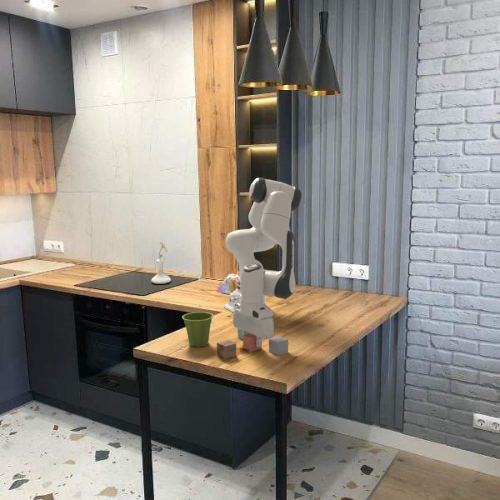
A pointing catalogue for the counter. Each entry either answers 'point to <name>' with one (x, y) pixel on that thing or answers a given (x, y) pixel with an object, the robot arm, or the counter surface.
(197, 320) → the plant pot
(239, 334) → the muted teal block
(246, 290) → the robot arm
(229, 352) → the walnut block
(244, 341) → the brick-red block
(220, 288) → the candy landscape model
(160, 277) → the flower in vase
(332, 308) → the counter surface
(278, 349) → the slate grey block
